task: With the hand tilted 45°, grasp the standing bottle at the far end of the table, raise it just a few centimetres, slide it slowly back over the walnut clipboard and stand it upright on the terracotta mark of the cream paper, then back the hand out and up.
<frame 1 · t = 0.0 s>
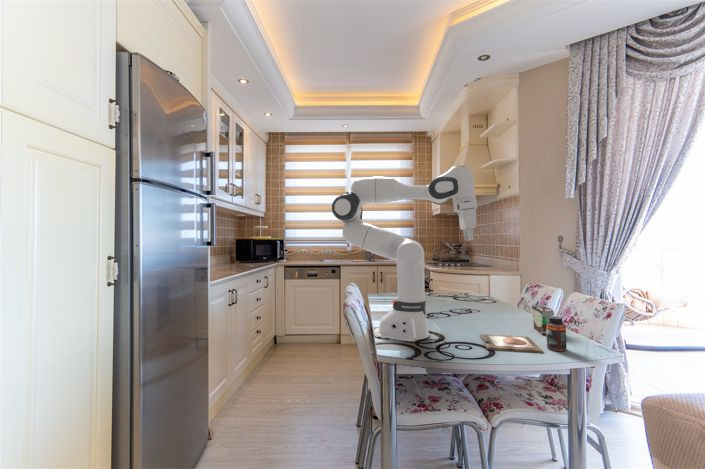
hand: (469, 240, 129), 39 cm above the table, tool pointing down, fingers open, 8 cm apart
food container: (545, 332, 135), on the table
clipboard: (508, 343, 120), on the table
supplement bottle: (556, 349, 114), on the table
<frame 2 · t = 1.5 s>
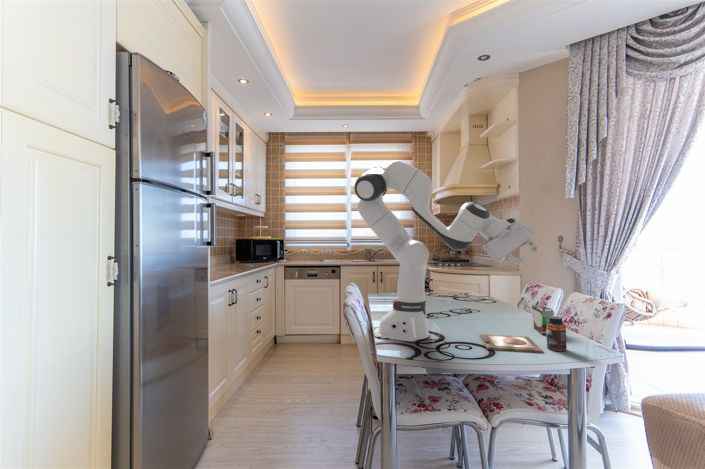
hand: (529, 256, 114), 33 cm above the table, tool tilted 50°, fingers open, 8 cm apart
nothing on the table moved.
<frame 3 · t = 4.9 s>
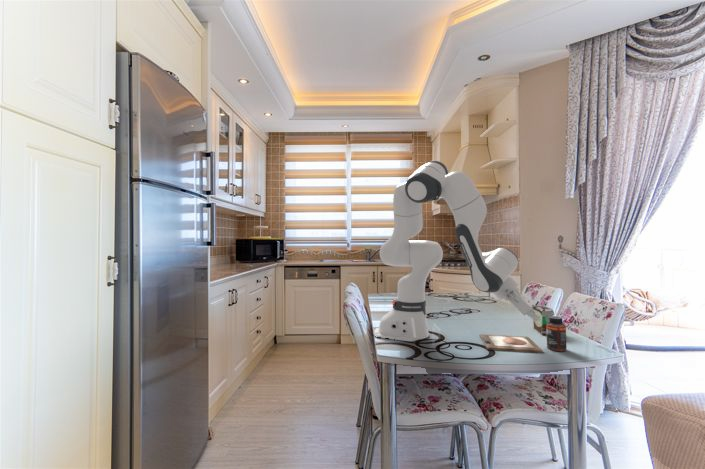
hand: (535, 317, 116), 11 cm above the table, tool tilted 45°, fingers open, 8 cm apart
nothing on the table moved.
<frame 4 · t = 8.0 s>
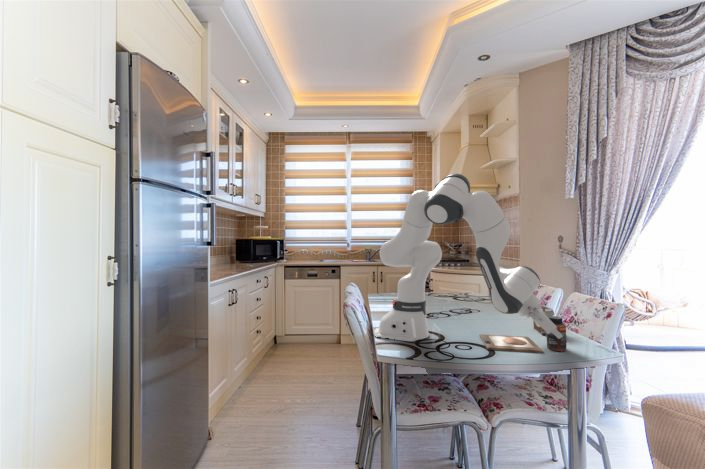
hand: (558, 334, 114), 5 cm above the table, tool tilted 45°, fingers closed on supplement bottle, 6 cm apart
supplement bottle: (556, 349, 114), on the table, touching gripper
everything else where it was.
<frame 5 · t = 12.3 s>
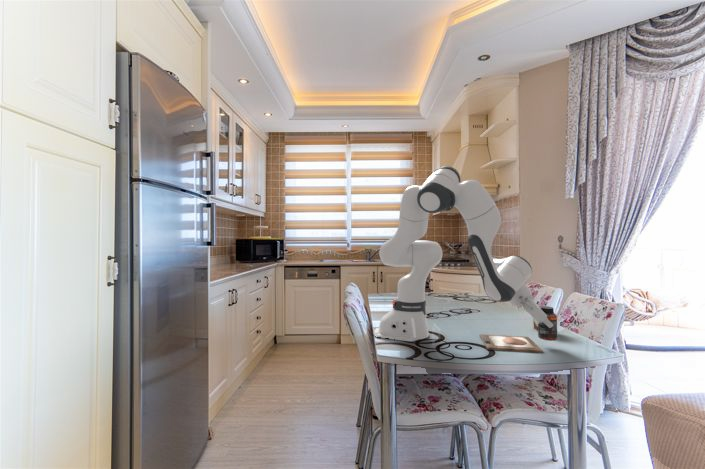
hand: (549, 323, 116), 9 cm above the table, tool tilted 45°, fingers closed on supplement bottle, 6 cm apart
supplement bottle: (547, 339, 116), point 3 cm above the table, touching gripper
everything else where it was.
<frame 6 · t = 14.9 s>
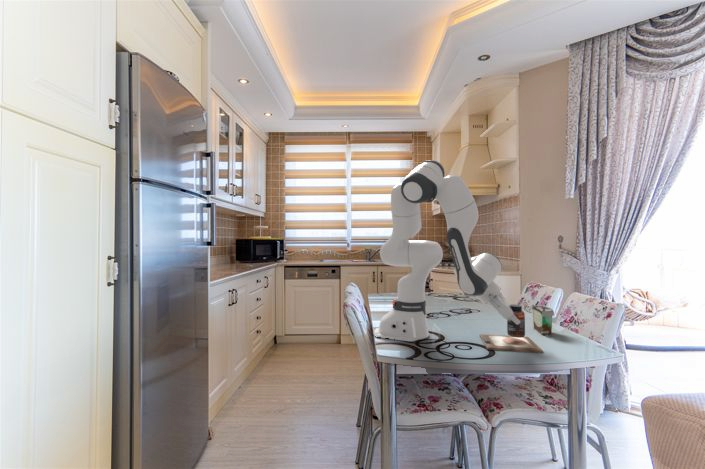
hand: (517, 320, 120), 9 cm above the table, tool tilted 45°, fingers closed on supplement bottle, 6 cm apart
supplement bottle: (516, 336, 120), point 3 cm above the table, touching gripper
everything else where it was.
when the fingers open (8 cm above the table, at t = 17.0 s): supplement bottle drops 1 cm, resting on clipboard.
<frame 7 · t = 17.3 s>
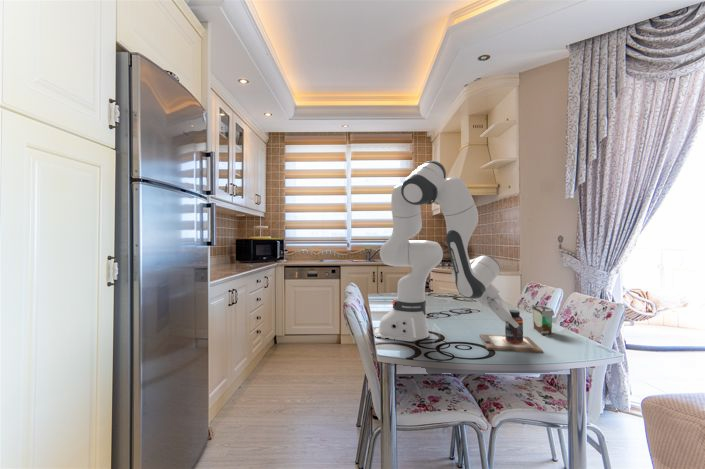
hand: (516, 323, 120), 8 cm above the table, tool tilted 45°, fingers open, 8 cm apart
supplement bottle: (514, 341, 120), point 1 cm above the table, touching clipboard
everything else where it was.
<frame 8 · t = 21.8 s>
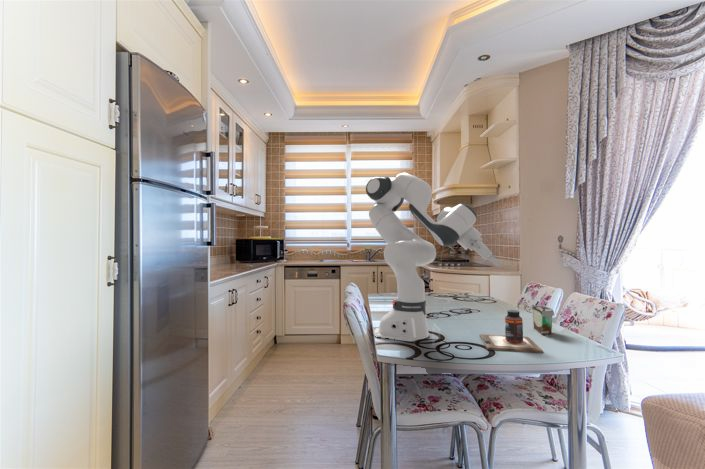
hand: (497, 264, 126), 29 cm above the table, tool tilted 45°, fingers open, 8 cm apart
nothing on the table moved.
at the end: supplement bottle inside the target area on the clipboard (0.1 cm from its centre), point 0.9 cm above the clipboard's base; supplement bottle tilted 0°; the gripper is holding nothing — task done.
